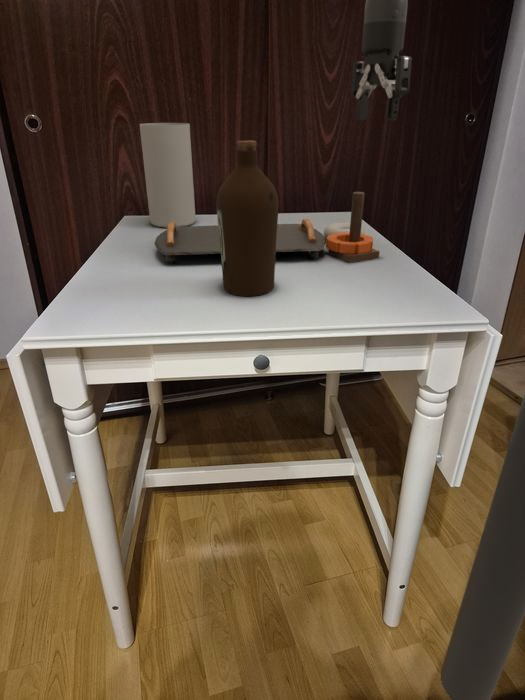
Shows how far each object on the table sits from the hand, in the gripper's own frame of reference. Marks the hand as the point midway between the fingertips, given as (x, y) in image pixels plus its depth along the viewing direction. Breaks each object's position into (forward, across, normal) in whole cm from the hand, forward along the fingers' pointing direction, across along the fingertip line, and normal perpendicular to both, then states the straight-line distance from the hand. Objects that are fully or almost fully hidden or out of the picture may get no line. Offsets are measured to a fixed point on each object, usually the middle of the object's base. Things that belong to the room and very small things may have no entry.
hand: (375, 120), depth 95 cm
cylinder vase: (+26, +49, +28) cm, 62 cm away
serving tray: (+27, +17, +22) cm, 39 cm away
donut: (+27, +13, -4) cm, 30 cm away
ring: (+26, +3, +2) cm, 26 cm away
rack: (+27, +1, +2) cm, 27 cm away
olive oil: (+28, -6, +32) cm, 42 cm away
